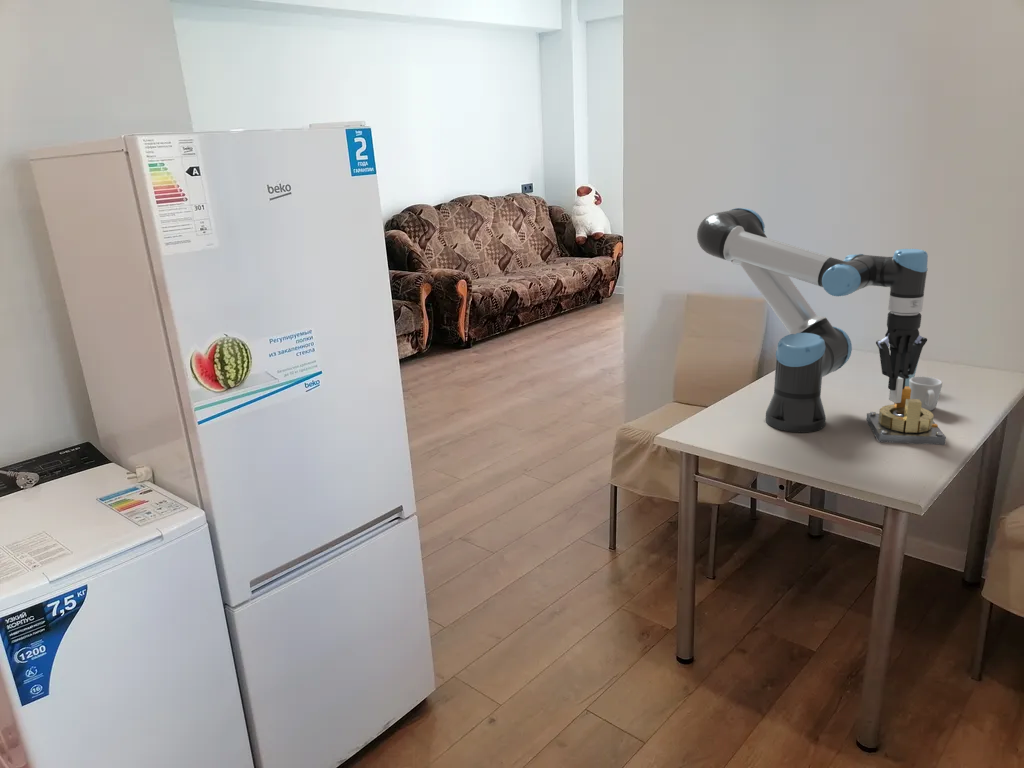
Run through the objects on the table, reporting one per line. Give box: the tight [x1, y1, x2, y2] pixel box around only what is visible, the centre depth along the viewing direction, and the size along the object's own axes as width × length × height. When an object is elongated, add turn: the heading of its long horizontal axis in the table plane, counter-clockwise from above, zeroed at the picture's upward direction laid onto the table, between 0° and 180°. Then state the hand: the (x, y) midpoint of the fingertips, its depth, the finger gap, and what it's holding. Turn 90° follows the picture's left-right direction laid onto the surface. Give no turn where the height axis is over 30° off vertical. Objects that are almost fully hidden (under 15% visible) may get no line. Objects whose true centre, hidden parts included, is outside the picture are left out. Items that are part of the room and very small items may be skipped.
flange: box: [865, 410, 947, 446], centre depth 194 cm, size 15×15×5 cm
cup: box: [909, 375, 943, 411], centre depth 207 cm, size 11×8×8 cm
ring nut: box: [878, 386, 935, 433], centre depth 193 cm, size 12×12×8 cm
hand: (894, 401), depth 197 cm, fingers closed
